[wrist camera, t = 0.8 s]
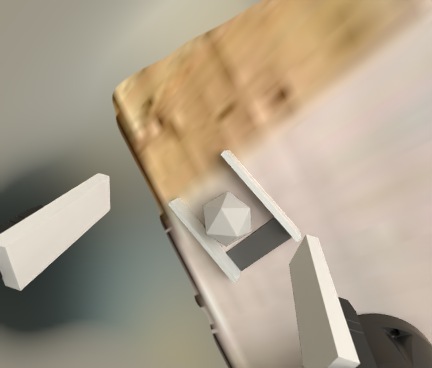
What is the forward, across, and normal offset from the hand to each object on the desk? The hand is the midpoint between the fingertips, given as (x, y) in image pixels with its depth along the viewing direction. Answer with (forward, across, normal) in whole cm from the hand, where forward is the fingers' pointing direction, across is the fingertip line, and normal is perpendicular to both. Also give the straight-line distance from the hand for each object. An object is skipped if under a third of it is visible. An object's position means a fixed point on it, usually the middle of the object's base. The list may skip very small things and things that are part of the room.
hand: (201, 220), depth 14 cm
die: (+23, -3, +15) cm, 28 cm away
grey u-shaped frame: (+23, -3, +15) cm, 28 cm away
